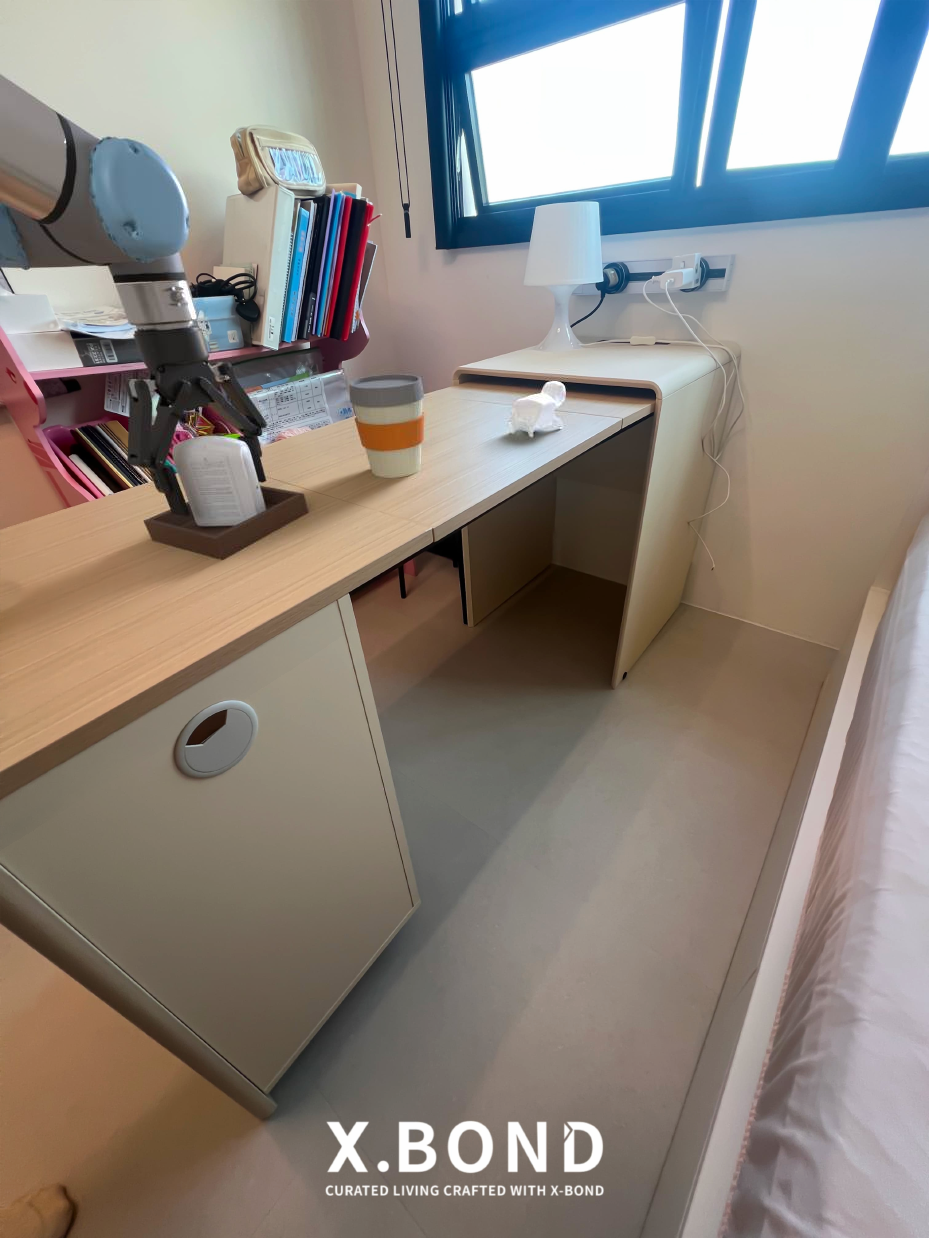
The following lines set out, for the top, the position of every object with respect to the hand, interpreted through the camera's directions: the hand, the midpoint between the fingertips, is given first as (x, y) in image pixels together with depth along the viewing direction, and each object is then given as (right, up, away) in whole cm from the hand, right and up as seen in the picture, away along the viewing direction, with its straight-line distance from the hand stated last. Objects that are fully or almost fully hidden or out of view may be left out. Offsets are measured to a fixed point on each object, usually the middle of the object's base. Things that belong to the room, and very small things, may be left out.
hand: (222, 496), depth 72 cm
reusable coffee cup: (+22, +10, +21) cm, 32 cm away
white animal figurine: (+51, +24, +39) cm, 69 cm away
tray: (0, -4, +3) cm, 5 cm away
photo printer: (+1, -3, +3) cm, 4 cm away
